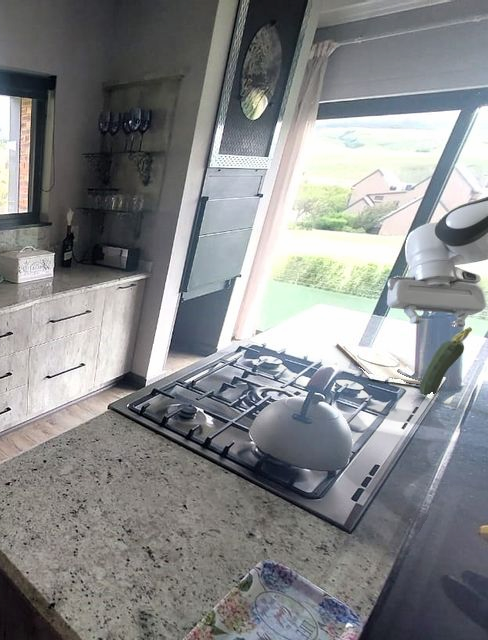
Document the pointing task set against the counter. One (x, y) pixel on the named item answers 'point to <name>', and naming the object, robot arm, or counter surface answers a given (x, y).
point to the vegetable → (442, 362)
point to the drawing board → (376, 361)
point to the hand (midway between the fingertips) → (437, 324)
